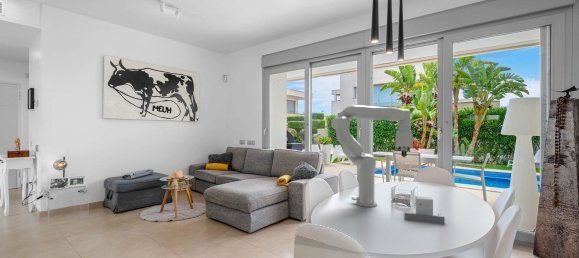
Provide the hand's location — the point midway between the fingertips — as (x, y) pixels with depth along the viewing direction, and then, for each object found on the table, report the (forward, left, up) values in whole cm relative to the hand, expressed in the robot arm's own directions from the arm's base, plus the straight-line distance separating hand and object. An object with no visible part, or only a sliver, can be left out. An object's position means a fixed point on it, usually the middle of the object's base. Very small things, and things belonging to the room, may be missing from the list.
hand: (404, 157), depth 180 cm
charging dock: (+9, -29, -29) cm, 42 cm away
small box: (+10, -28, -29) cm, 42 cm away
